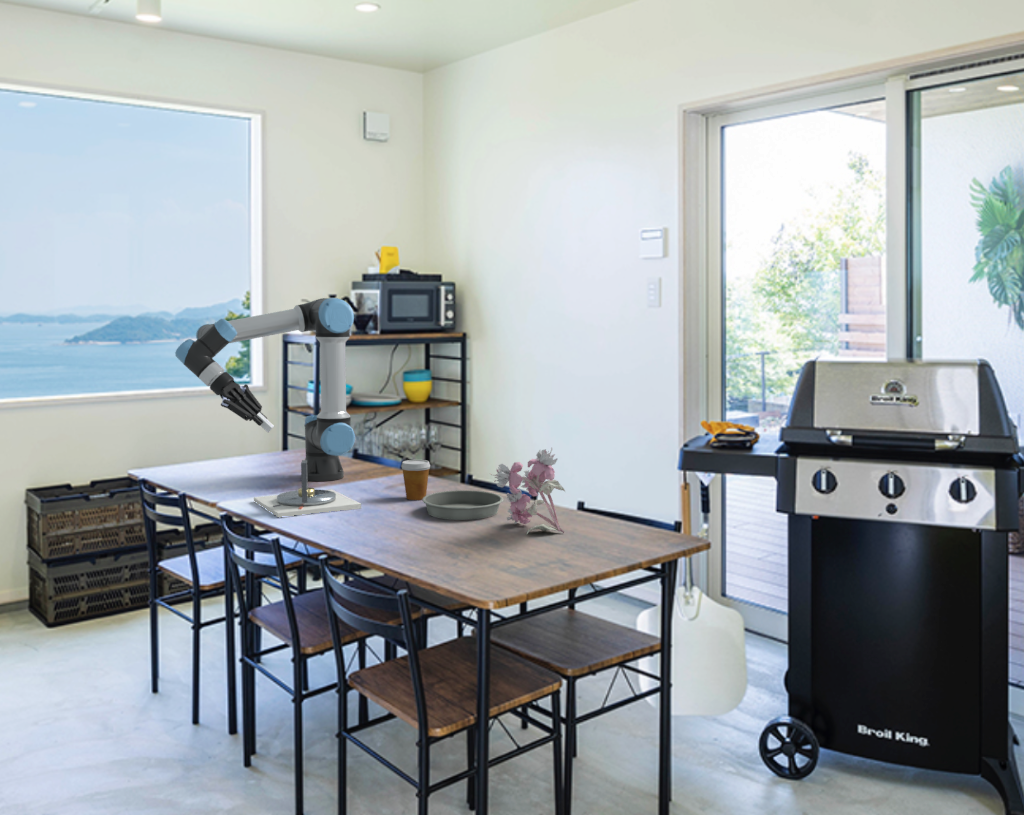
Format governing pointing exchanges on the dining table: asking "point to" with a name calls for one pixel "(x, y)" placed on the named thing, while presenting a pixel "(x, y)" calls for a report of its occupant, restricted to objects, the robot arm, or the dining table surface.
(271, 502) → the dial board
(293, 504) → the dial
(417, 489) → the disposable coffee cup
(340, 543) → the dining table surface
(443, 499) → the cake pan
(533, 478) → the flower
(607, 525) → the dining table surface
